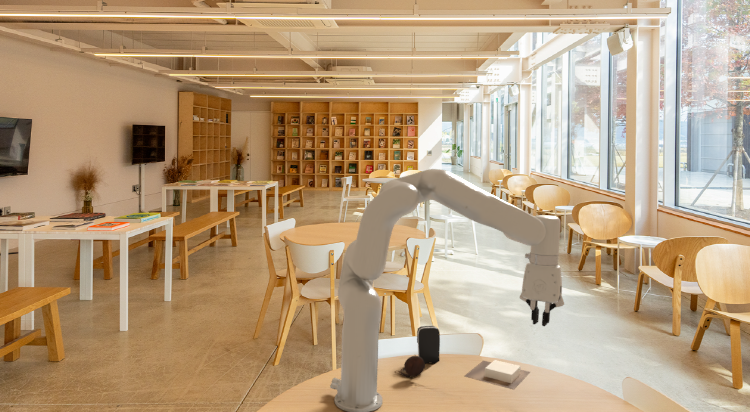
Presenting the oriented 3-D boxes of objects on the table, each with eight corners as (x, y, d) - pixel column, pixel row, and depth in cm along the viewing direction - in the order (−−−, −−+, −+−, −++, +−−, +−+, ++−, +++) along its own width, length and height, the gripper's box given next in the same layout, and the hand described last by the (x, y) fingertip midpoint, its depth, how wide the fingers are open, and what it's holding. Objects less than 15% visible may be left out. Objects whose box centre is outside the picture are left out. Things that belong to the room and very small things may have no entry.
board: (463, 381, 159) (463, 376, 159) (483, 365, 172) (483, 360, 172) (513, 394, 151) (514, 389, 151) (530, 376, 164) (530, 372, 163)
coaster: (484, 376, 159) (485, 368, 159) (494, 367, 166) (494, 359, 166) (511, 383, 155) (511, 374, 155) (520, 374, 162) (520, 366, 161)
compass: (417, 369, 167) (418, 346, 166) (424, 380, 159) (425, 356, 159) (391, 370, 165) (392, 347, 165) (398, 381, 158) (399, 357, 157)
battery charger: (437, 359, 175) (437, 324, 174) (440, 363, 171) (440, 327, 170) (416, 360, 174) (415, 325, 173) (418, 364, 170) (418, 328, 169)
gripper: (511, 258, 153) (508, 321, 154) (570, 265, 144) (565, 333, 146) (520, 254, 159) (516, 315, 161) (576, 261, 150) (572, 326, 152)
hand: (540, 323), depth 153 cm, fingers closed
